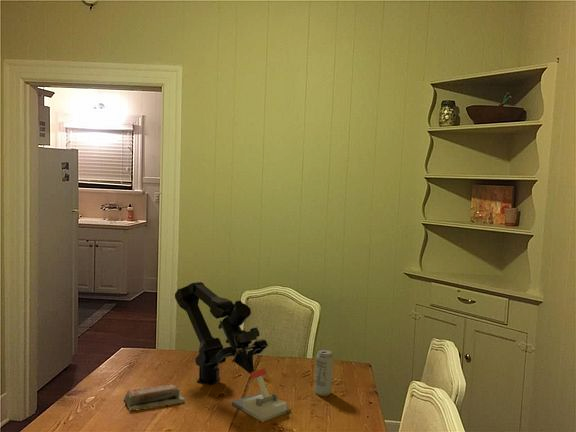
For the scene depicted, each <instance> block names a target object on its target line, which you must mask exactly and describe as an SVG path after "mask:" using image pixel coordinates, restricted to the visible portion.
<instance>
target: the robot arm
mask: <svg viewBox="0 0 576 432" xmlns="http://www.w3.org/2000/svg"><path fill="white" fill-rule="evenodd" d="M174 299H175V301H176V303H177V305H178V306H179V307H180V309H182V310H184V311H185V312H186V313H187V316H188V319H189V321H190V323H191V326H192V328H193V330H194V333H195V335H196V337H197V339H198V341H199V348H198V353H199V354H198V355H197V356H196V357H195V359H194V360H195V365H196V366H198V367H199V369H198V371H199V373H198V379H197V380H196V382H197V383H202V384H208V385H214V384H215V383H216V382H217V381H219V380H220V379H221V378H220V368H219V365H221V364H223V363H225V362H226V360H227V358H230V357H232V358H233V359H232V360H231V363H235V364H236V365H238V366H240V367H241V369H242V370H243V369H244V370H245V371H246V373H248V374H249V375H250V373H251V372H253V371H255V370H254V356H255V355H256V356H257V355H260V354H262V352H264V351H265V349H267V347H268V346H269V344H268V342H267V340H266V339H264V338H262V339H258V337H260V335H261V333H260V330H259V329H258V327H252V328H250V330H249V331H246V330H244V329H243V330H242V328H241V326H242V325H243V324H244V323H245V322H246V321H247V319H248V318H249V317H250V316H251V314H252V309H251V308H250V306H248V305H247V303H246V304H245V303H243V302H242V300H236V301H235V302H234V303H233V301H232V300H230V299H228V298H225V297H221V296H219V295H217V294H216V293H215V292H214V291H212V290H211V289H210V288H208V287H207V286H206V285H205V283H204V282H201V281H197V282H191V283H189V284H188V285H186V286H184V287H182V288H178V289H177V290H176V292H175V293H174ZM200 300H201V302H203V303H204V304H205V305H206V306H207V307H208V308H209V312H210V314H211V315H212V316H213V317H214V318H215V319H217V320H218V319H222V320H219V325H218V327H217V328H218V329H219V330H221V329H222V330H223V333H224V334H225V337H226V340H225V343H226V344H229V346H227V347H224V345H223V343H222V342H221V339H220V337H213V335H212V333H211V331H210V329H209V327H208V324H207V322H206V320H205V318H204V316H203V314H202V311H201V308H200V307H199V301H200ZM252 341H254V342H253V343H252ZM250 344H252V345H250Z"/></svg>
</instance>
